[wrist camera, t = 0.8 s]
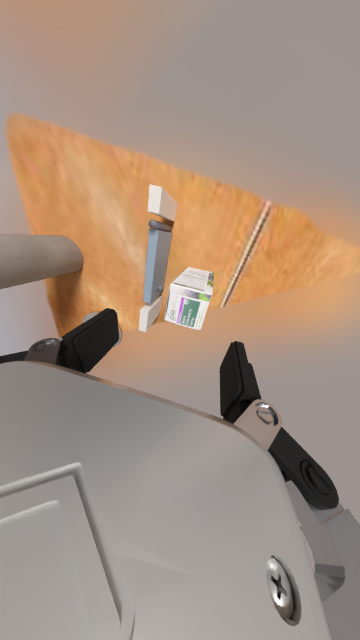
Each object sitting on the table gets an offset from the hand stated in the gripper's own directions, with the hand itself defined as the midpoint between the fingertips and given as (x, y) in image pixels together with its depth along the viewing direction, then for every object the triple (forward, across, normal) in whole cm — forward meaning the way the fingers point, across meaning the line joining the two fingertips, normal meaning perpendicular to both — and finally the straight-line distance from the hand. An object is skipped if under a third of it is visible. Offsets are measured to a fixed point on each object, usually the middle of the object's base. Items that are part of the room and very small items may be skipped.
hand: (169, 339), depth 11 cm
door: (+22, +7, -1) cm, 24 cm away
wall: (+22, +8, 0) cm, 24 cm away
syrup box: (+23, 0, +2) cm, 23 cm away
